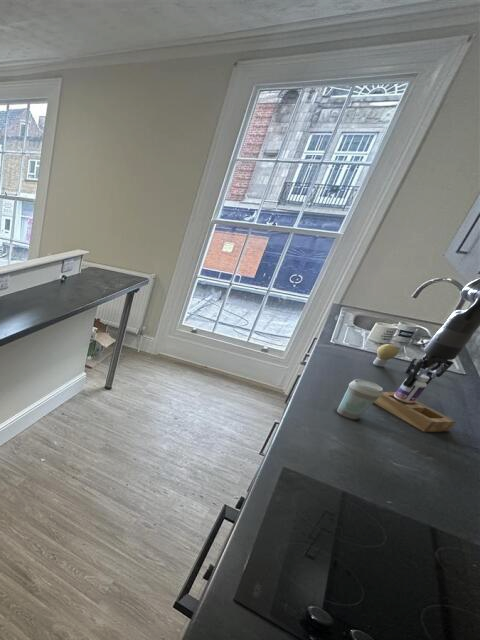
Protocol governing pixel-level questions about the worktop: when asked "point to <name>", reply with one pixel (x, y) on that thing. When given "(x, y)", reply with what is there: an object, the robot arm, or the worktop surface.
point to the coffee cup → (359, 398)
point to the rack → (415, 413)
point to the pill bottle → (412, 390)
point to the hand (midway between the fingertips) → (413, 386)
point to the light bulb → (385, 354)
